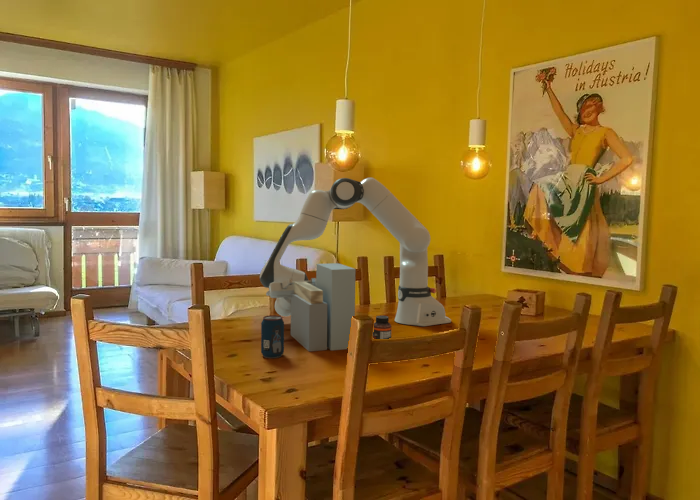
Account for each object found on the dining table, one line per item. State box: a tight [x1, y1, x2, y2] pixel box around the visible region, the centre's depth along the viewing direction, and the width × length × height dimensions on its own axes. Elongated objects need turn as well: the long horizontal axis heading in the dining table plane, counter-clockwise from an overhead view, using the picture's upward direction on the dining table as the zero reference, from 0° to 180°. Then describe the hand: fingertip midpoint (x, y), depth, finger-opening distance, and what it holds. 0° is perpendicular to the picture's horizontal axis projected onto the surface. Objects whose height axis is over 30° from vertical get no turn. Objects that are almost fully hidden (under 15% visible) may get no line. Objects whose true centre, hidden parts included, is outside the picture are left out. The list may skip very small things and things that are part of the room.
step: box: [290, 293, 328, 352], centre depth 187 cm, size 6×22×15 cm, turn 21°
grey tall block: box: [315, 262, 357, 351], centre depth 185 cm, size 8×16×26 cm, turn 21°
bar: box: [294, 282, 323, 304], centre depth 186 cm, size 4×20×4 cm, turn 21°
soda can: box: [260, 314, 285, 359], centre depth 170 cm, size 7×7×12 cm
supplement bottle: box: [372, 315, 392, 339], centre depth 177 cm, size 6×6×11 cm
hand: (302, 280), depth 192 cm, fingers open, 7 cm apart
